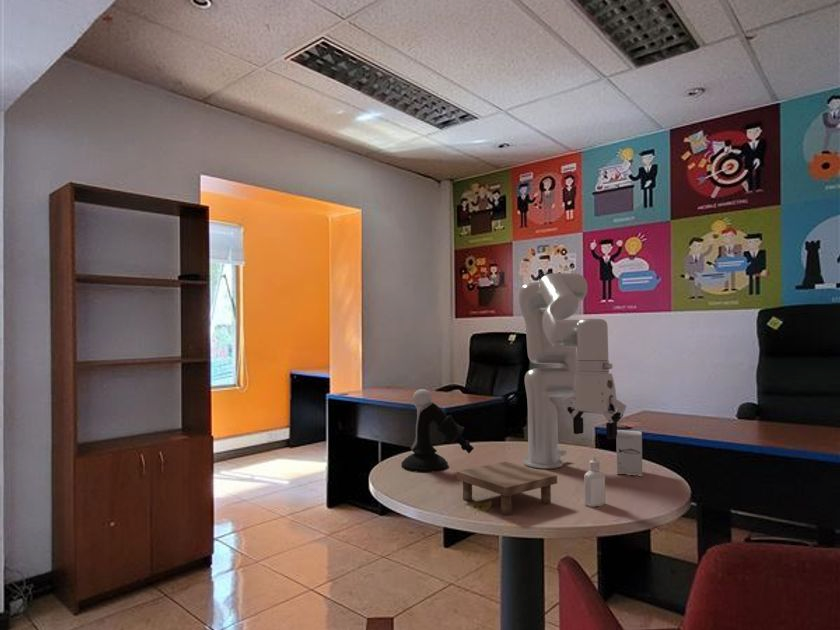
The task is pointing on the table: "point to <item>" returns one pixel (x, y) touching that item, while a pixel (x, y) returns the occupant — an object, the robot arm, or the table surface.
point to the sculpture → (424, 450)
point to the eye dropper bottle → (594, 485)
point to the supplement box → (629, 452)
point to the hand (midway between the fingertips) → (594, 436)
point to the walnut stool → (507, 482)
